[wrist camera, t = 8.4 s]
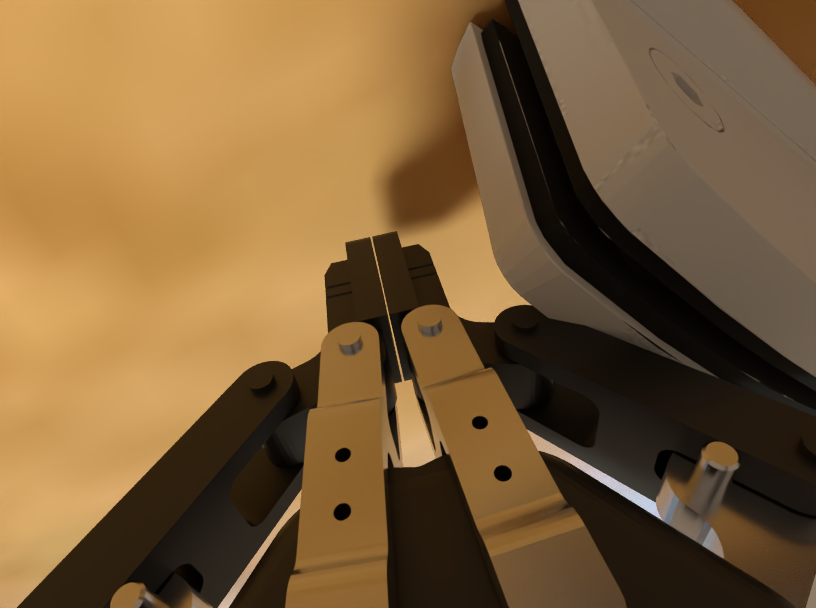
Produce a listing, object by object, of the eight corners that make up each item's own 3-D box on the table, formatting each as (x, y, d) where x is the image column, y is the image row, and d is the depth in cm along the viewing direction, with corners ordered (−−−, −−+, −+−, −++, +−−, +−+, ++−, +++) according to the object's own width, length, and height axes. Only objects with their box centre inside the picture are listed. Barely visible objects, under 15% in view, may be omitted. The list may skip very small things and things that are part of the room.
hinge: (902, 172, 17) (1133, 452, 12) (764, 246, 21) (892, 492, 15) (570, -165, 10) (756, 136, 5) (440, 31, 14) (456, 345, 8)
